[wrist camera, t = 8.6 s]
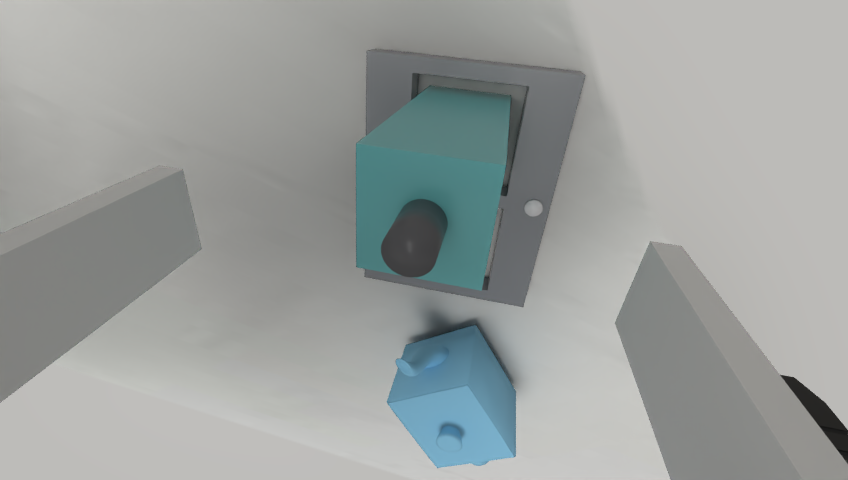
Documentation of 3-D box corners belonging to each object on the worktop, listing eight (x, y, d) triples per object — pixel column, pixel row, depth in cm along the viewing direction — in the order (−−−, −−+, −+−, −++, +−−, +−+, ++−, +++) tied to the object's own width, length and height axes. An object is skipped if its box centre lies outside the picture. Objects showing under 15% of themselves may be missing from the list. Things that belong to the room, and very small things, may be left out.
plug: (423, 162, 24) (334, 301, 12) (430, 85, 22) (329, 164, 10) (496, 173, 24) (476, 330, 12) (510, 95, 22) (504, 191, 10)
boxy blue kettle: (387, 305, 31) (352, 381, 24) (456, 281, 28) (438, 358, 22) (457, 407, 35) (444, 496, 28) (523, 394, 32) (525, 487, 26)
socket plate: (371, 265, 29) (363, 278, 28) (375, 48, 22) (365, 50, 20) (522, 293, 28) (523, 309, 26) (581, 71, 20) (586, 75, 19)
